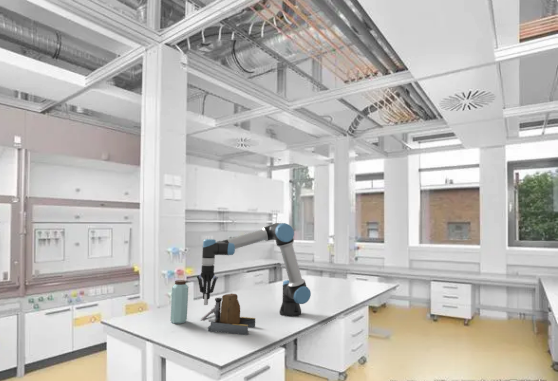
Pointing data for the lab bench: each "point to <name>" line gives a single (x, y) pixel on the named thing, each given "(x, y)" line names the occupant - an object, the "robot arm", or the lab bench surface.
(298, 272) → the robot arm
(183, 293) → the water bottle
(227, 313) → the brown stone
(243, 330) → the bay
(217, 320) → the bar
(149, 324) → the lab bench surface
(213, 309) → the caliper
